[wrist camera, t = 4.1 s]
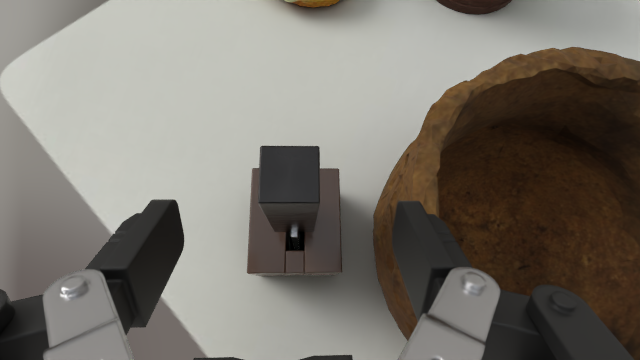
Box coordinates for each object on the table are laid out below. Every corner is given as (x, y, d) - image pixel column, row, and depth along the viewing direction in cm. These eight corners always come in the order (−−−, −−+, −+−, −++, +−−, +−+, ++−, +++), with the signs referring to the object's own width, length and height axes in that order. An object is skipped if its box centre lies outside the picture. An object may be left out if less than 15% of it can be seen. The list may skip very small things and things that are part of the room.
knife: (282, 250, 28) (257, 211, 13) (282, 213, 29) (260, 138, 14) (311, 249, 28) (320, 211, 13) (311, 213, 29) (319, 138, 14)
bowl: (449, 110, 32) (564, -27, 18) (619, 256, 29) (927, 228, 15) (305, 252, 28) (308, 220, 14) (488, 443, 24) (745, 666, 10)
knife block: (258, 275, 27) (246, 273, 21) (262, 190, 29) (252, 167, 23) (334, 275, 27) (342, 272, 22) (332, 190, 29) (339, 168, 24)
